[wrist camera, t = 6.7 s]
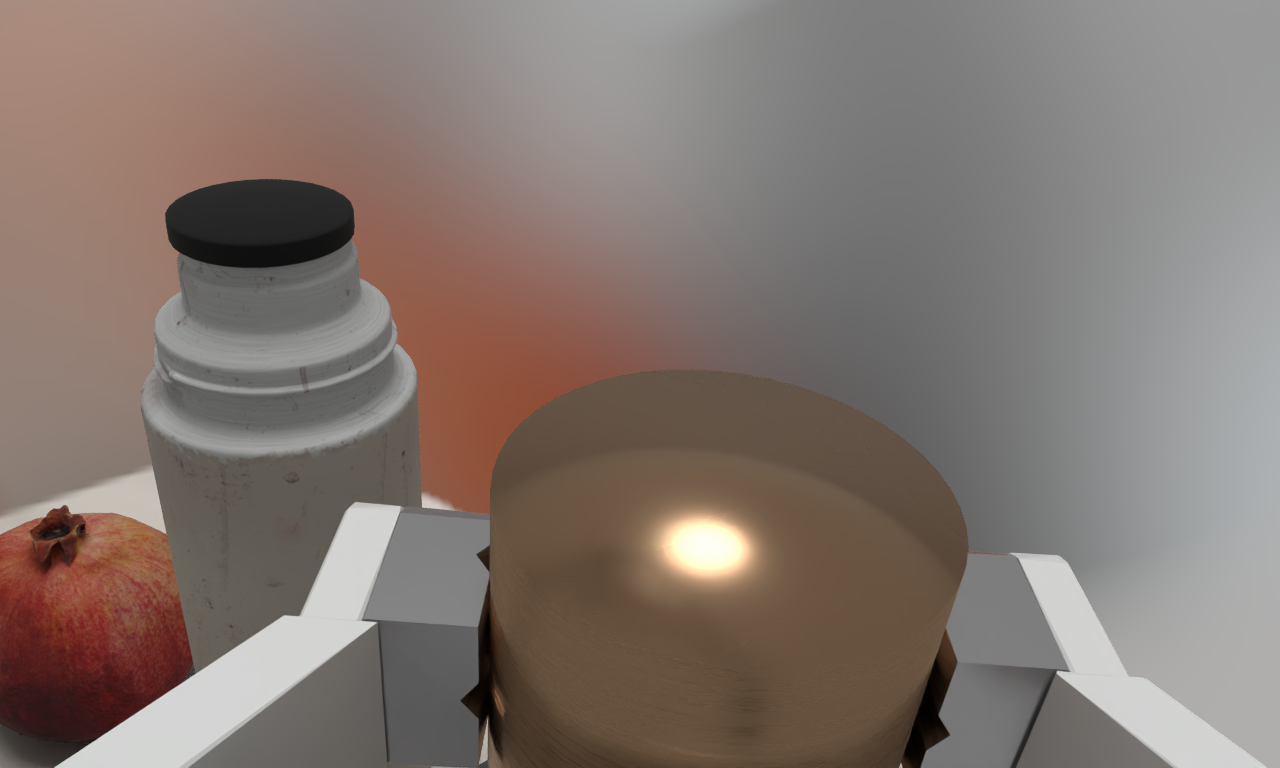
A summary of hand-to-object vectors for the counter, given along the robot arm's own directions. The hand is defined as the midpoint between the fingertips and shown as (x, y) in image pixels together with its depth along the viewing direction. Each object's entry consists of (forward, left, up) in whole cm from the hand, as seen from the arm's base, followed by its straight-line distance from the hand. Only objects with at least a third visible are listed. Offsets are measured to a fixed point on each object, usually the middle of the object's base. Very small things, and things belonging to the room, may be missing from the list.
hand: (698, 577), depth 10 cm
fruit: (-8, +33, -32) cm, 47 cm away
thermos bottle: (0, +21, -32) cm, 38 cm away
